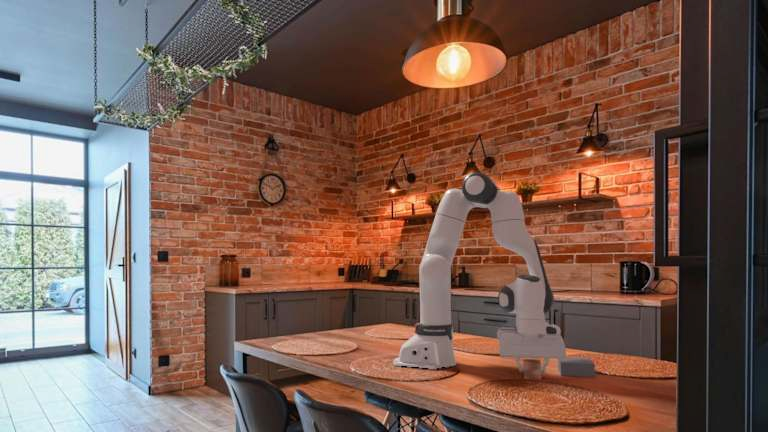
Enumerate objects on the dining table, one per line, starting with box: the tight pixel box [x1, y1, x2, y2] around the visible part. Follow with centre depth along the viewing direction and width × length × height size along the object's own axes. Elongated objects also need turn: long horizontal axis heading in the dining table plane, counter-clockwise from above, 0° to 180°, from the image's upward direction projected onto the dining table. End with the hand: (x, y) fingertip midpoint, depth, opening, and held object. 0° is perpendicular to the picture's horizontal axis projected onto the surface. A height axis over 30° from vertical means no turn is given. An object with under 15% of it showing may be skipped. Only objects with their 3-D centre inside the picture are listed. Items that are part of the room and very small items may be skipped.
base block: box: [557, 356, 596, 378], centre depth 158 cm, size 10×10×4 cm
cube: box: [522, 358, 542, 381], centre depth 153 cm, size 5×5×5 cm
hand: (532, 371), depth 153 cm, fingers closed on cube, 5 cm apart
